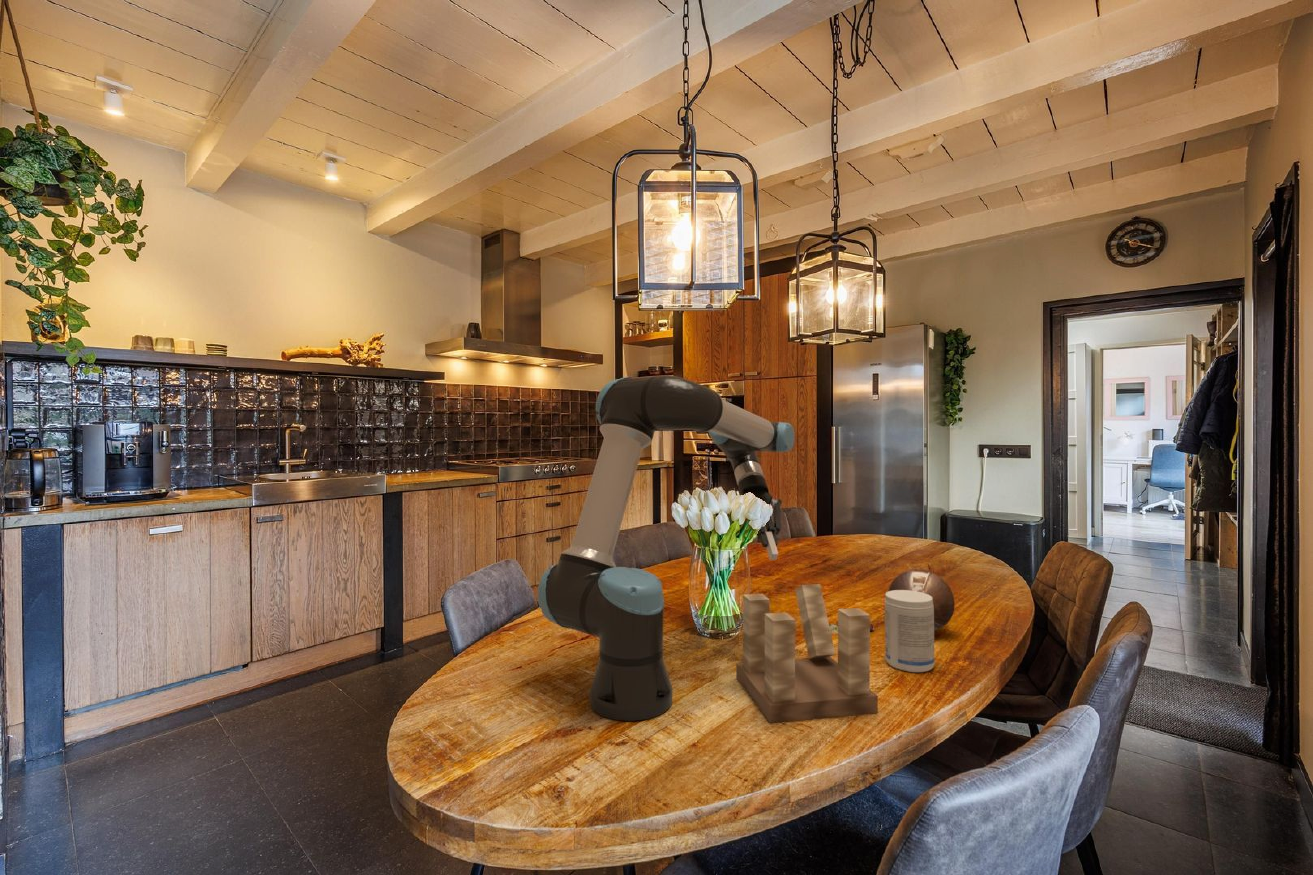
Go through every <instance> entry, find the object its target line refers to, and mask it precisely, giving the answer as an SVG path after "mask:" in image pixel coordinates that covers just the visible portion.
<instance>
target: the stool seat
mask: <svg viewBox="0 0 1313 875" xmlns="http://www.w3.org/2000/svg"><path fill="white" fill-rule="evenodd" d="M770 605H771V604H770V599H769V598H768V596H766V595H765V594H763V593H751V594H747V593H746V594H743V595H742V662H736V664H735V665H736V669H735V670H736V677H735V678H736V680H737V681H738V682H739V684H740V685H741V687H742V689H744V690H745V692H746V693H747V695H748V694H749V695H748V696H749V697H750V699H751V698H752V699H751V700H752V702H755V703H754V705H755V706H756V707H757V706H758V707H757V708H758V710H759V711H760V713H761V714H762V715H763V716H764V718H765V719H766V721H767V722H768V723H769V724H773V723H783V722H794V721H803V720H804V721H805V720H813V719H814V720H815V719H816V720H818V719H825V718H827V719H828V718H836V717H837V718H838V717H847V716H848V717H849V716H857V715H859V716H861V715H868V714H878V713H879V710H878V709H879V708H878V706H879V705H878V704H879V702H878V701H879V698H878V697H879V695H877V694H876V693H875V692H874V691H872V690H871V689H870V683H871V682H870V674H871V672H870V670H871V668H870V667H871V666H870V663H871V661H870V659H871V658H870V657H871V653H870V652H871V643H870V642H871V630H870V623H871V614H869V613H867V612H865V611H864V610H862V609H861V608H859V607H856V608H839V609H838V608H837V621H838V633H837V660H835V659H834V658H832V656H830V657H827V658H814V659H809V657H803V658H801V657H800V658H796V619H795V618H794V617H793V616H791V615H790V614H789V613H787V612H785V611H784V612H771V611H770V608H771V606H770Z"/></svg>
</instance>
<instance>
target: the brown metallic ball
mask: <svg viewBox="0 0 1313 875" xmlns="http://www.w3.org/2000/svg"><path fill="white" fill-rule="evenodd" d="M893 590H910V591H917V592H922V593H925V594H928V595H930V596H931V597H932V598H933V606H934V632H937V631H939V630H942V629H943V628H944V627H946V626H947V624H948V623H949V622H950V621H951V619H952V617H953V615H954V611H955V605H956V604H955V598H954V594H953V592H952V590H951V587H950V586H949V585H948V583H947V582H946V581H945V580H944V579H943V578H942V577H940V576H939V575H938V574H936V573H934V572H931V571H928V570H925V569H920V568H919V569H910V570H906V571H904V572H902V573H900V574H899V575H897V576H896V577H895V578H894V579H893V580H892V582H891V583H890V585H889V588H888V591H887V592H889V591H893Z"/></svg>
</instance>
